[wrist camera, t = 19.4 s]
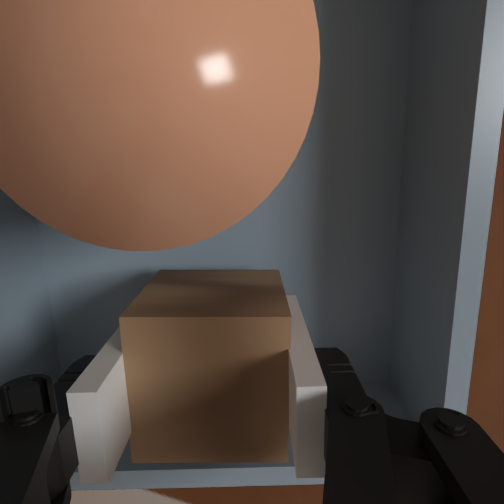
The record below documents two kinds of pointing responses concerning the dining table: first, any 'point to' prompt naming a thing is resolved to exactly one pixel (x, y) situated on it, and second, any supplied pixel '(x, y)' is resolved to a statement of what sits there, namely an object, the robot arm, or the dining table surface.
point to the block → (208, 367)
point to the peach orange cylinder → (152, 113)
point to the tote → (319, 228)
